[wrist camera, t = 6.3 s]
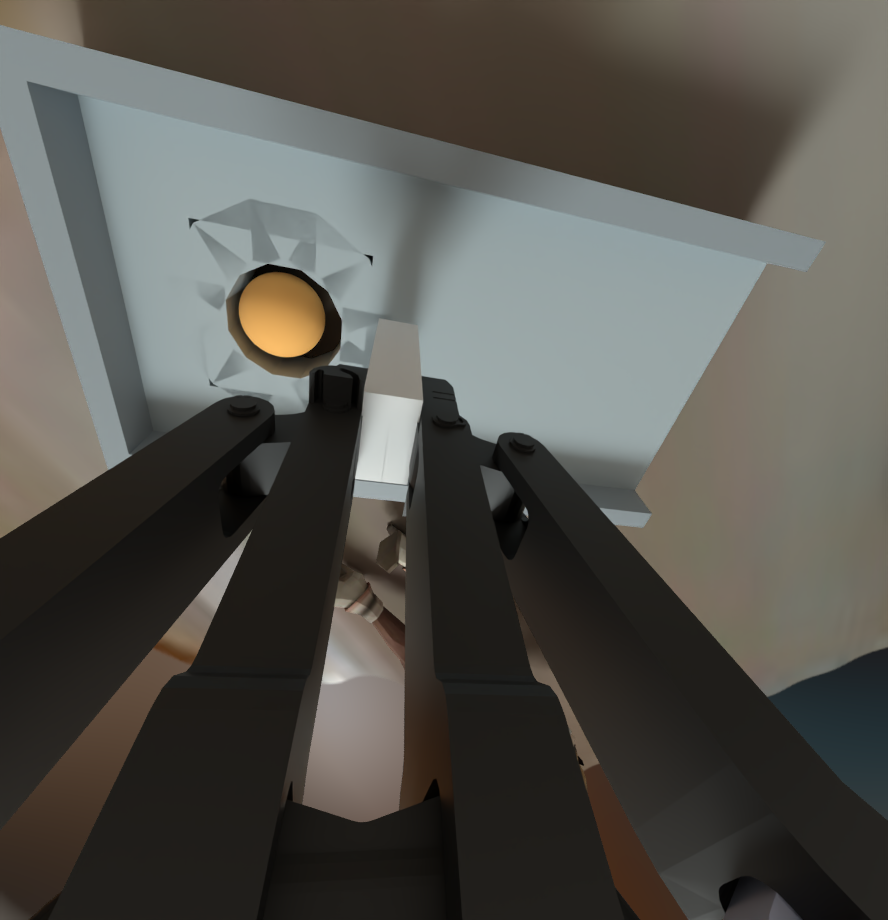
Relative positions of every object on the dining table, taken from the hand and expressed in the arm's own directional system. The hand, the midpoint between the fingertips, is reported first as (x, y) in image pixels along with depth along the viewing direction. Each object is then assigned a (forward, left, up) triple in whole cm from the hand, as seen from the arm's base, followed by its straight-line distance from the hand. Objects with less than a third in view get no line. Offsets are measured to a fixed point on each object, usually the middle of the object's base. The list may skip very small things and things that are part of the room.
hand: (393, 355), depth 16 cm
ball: (+5, 0, -2) cm, 5 cm away
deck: (-2, 0, -4) cm, 4 cm away
